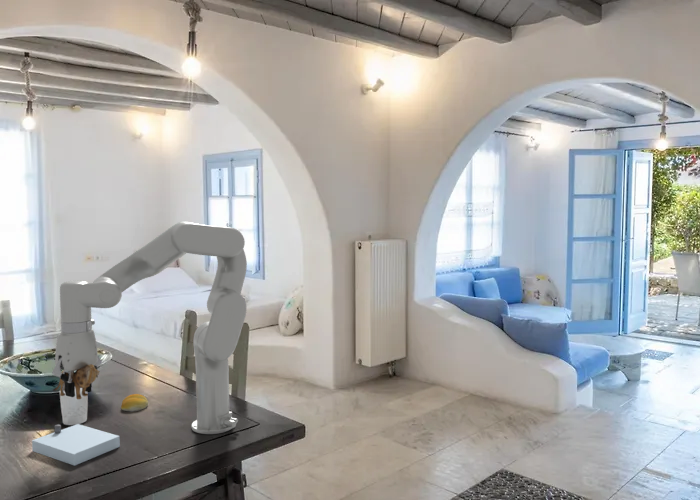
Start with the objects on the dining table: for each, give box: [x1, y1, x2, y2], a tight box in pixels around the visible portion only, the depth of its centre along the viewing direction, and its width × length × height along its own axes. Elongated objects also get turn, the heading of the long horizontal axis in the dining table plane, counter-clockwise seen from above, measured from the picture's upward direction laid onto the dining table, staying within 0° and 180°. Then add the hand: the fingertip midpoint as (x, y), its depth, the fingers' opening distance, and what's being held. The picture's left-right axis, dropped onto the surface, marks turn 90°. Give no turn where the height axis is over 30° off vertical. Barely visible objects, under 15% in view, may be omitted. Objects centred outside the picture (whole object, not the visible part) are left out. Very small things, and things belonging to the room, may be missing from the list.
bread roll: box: [120, 393, 149, 412], centre depth 202 cm, size 8×9×4 cm
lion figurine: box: [52, 364, 100, 399], centre depth 168 cm, size 15×5×9 cm, turn 71°
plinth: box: [31, 424, 121, 466], centre depth 168 cm, size 18×14×5 cm
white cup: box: [59, 388, 89, 426], centre depth 189 cm, size 8×8×10 cm
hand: (78, 393), depth 167 cm, fingers closed on lion figurine, 4 cm apart
